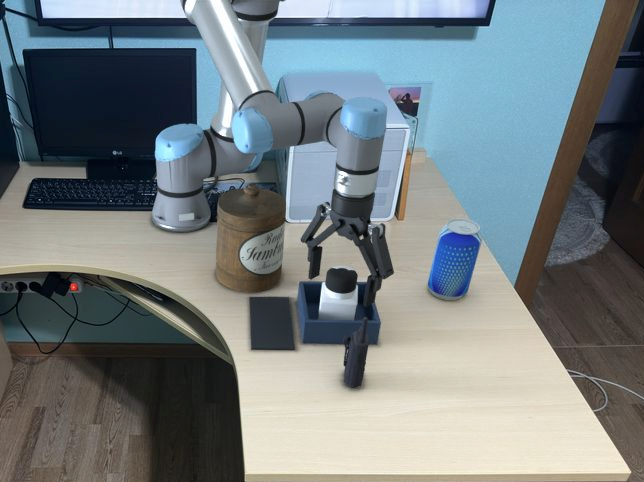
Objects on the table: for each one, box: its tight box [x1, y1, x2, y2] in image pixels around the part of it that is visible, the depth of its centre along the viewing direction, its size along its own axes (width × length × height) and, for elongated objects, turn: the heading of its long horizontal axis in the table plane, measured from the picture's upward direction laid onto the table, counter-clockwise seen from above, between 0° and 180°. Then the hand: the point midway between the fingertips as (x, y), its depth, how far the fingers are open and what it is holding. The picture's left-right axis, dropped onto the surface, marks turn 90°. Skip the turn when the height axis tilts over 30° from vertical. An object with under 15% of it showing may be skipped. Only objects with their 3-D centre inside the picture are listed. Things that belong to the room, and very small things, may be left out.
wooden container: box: [215, 183, 287, 293], centre depth 146 cm, size 15×15×22 cm
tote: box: [296, 280, 382, 345], centre depth 137 cm, size 15×15×5 cm
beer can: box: [427, 217, 483, 301], centre depth 142 cm, size 8×8×16 cm
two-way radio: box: [342, 317, 370, 388], centre depth 119 cm, size 6×4×15 cm
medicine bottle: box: [318, 265, 359, 320], centre depth 134 cm, size 7×7×12 cm
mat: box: [249, 296, 296, 351], centre depth 138 cm, size 18×8×1 cm, turn 177°
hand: (340, 289), depth 133 cm, fingers open, 13 cm apart
